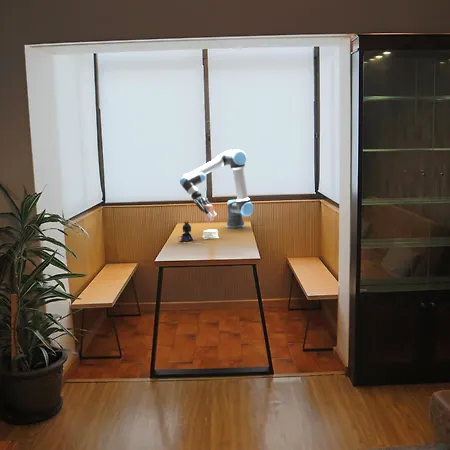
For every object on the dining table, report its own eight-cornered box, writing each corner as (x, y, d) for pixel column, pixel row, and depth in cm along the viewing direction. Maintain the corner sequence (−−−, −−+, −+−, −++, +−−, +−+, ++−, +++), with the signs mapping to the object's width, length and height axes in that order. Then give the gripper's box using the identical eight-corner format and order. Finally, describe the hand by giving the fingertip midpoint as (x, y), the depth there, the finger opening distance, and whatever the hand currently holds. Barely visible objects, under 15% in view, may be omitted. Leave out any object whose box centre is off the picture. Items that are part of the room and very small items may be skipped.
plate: (216, 236, 410) (216, 235, 410) (219, 239, 400) (219, 237, 400) (202, 238, 409) (202, 236, 408) (204, 240, 398) (204, 239, 398)
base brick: (209, 235, 409) (209, 229, 409) (218, 236, 405) (217, 230, 404) (203, 237, 403) (202, 231, 402) (211, 238, 398) (211, 231, 398)
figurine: (194, 242, 392) (192, 222, 390) (177, 242, 395) (176, 222, 392) (197, 240, 400) (195, 220, 398) (181, 240, 403) (179, 220, 400)
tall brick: (208, 220, 405) (207, 204, 403) (214, 220, 402) (213, 204, 401) (204, 221, 401) (203, 205, 399) (210, 221, 398) (209, 205, 397)
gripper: (199, 195, 415) (217, 217, 408) (184, 198, 401) (203, 221, 394) (204, 189, 411) (223, 211, 404) (189, 191, 397) (208, 214, 390)
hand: (213, 216), depth 399 cm, fingers closed on tall brick, 5 cm apart
